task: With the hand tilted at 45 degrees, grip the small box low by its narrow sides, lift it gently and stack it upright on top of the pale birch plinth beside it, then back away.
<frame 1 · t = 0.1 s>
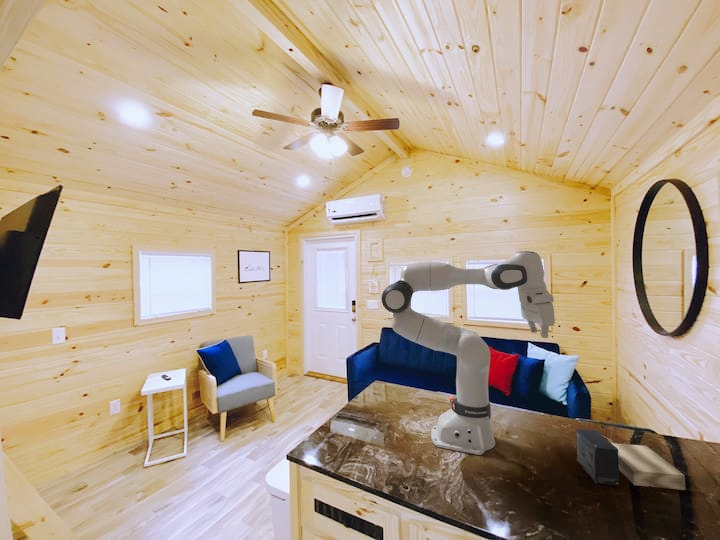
hand: (539, 334, 103), 39 cm above the kitchen island, tool pointing down, fingers open, 8 cm apart
plinth: (641, 470, 88), on the kitchen island
small box: (597, 473, 88), on the kitchen island
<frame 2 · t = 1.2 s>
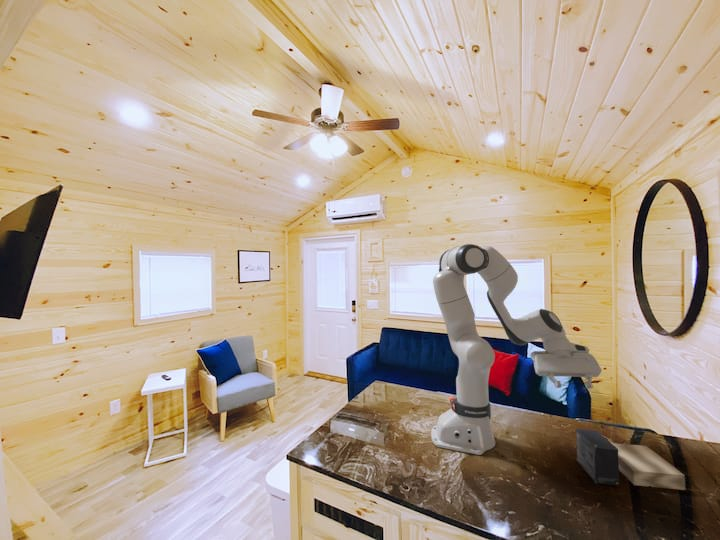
hand: (574, 387, 100), 21 cm above the kitchen island, tool tilted 45°, fingers open, 8 cm apart
nothing on the kitchen island moved.
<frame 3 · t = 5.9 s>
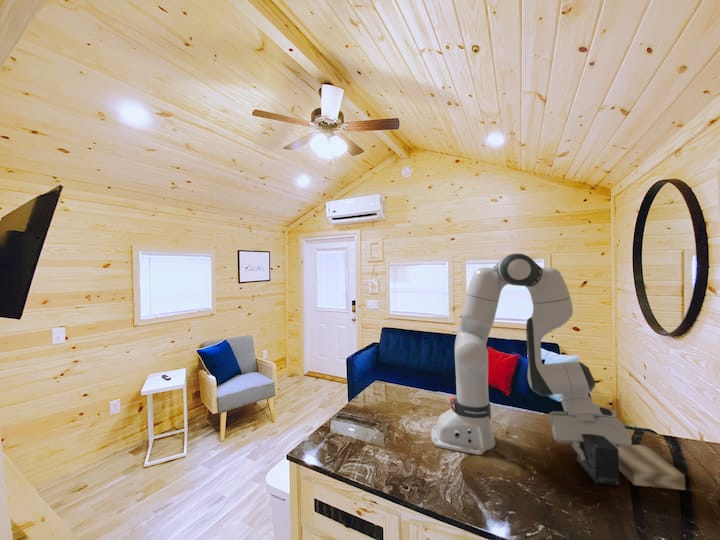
hand: (600, 461, 86), 4 cm above the kitchen island, tool tilted 45°, fingers closed on small box, 6 cm apart
small box: (597, 473, 88), on the kitchen island, touching gripper
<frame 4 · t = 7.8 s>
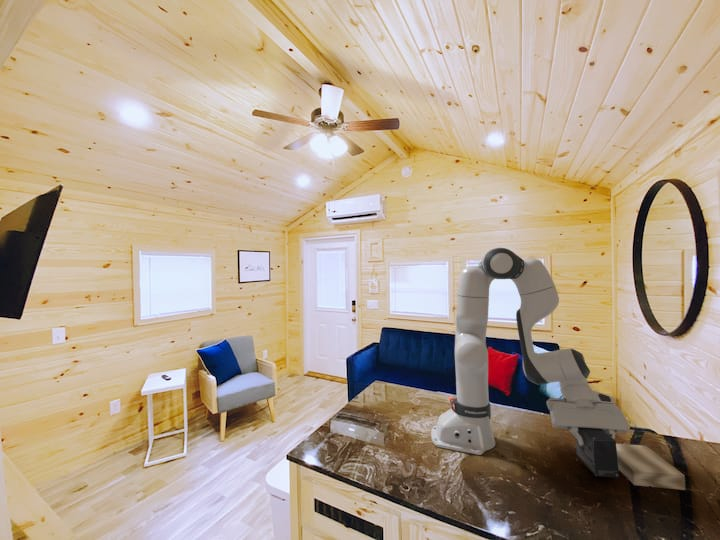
hand: (598, 446, 87), 9 cm above the kitchen island, tool tilted 45°, fingers closed on small box, 6 cm apart
small box: (597, 466, 88), point 2 cm above the kitchen island, touching gripper
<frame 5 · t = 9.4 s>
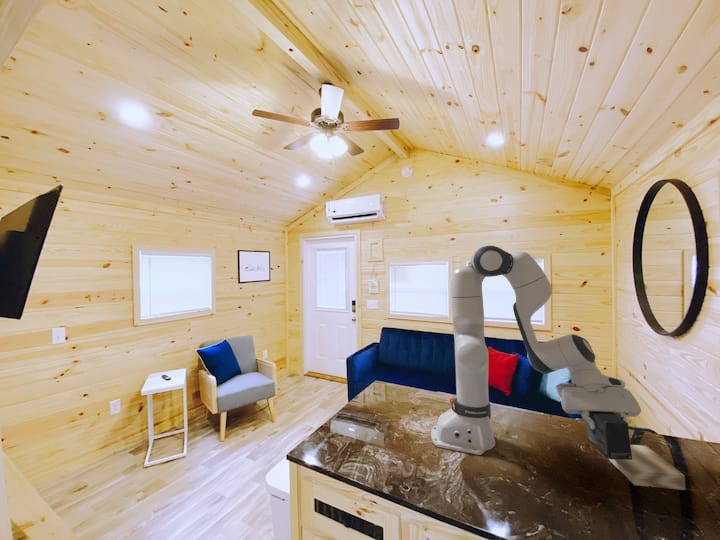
hand: (609, 429, 87), 14 cm above the kitchen island, tool tilted 45°, fingers closed on small box, 6 cm apart
small box: (609, 450, 88), point 7 cm above the kitchen island, touching gripper
when the fingers open (10 cm above the kitchen island, at t = 12.2 s): small box stays where it is, resting on plinth.
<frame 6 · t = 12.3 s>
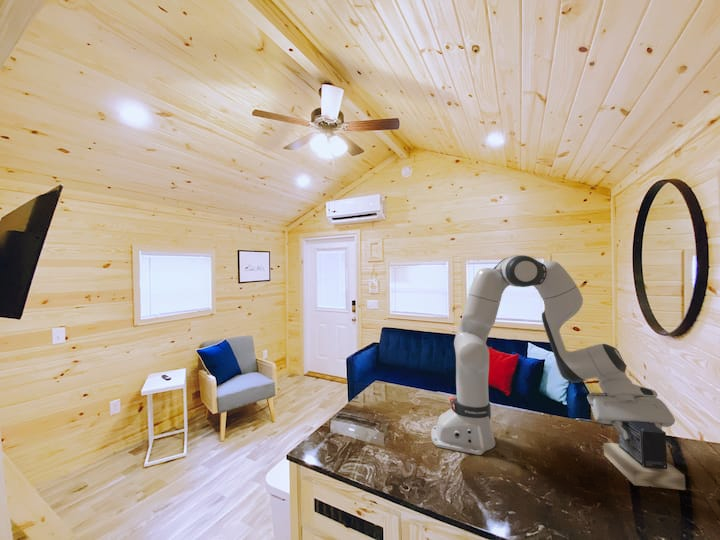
hand: (644, 440, 87), 10 cm above the kitchen island, tool tilted 45°, fingers open, 7 cm apart
small box: (642, 458, 88), point 4 cm above the kitchen island, touching gripper, plinth
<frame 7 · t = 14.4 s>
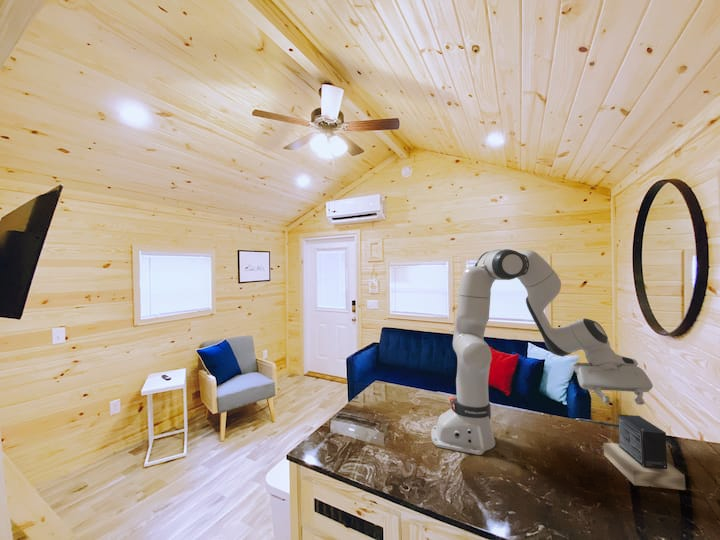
hand: (623, 403, 95), 18 cm above the kitchen island, tool tilted 45°, fingers open, 8 cm apart
small box: (642, 458, 88), point 4 cm above the kitchen island, touching plinth
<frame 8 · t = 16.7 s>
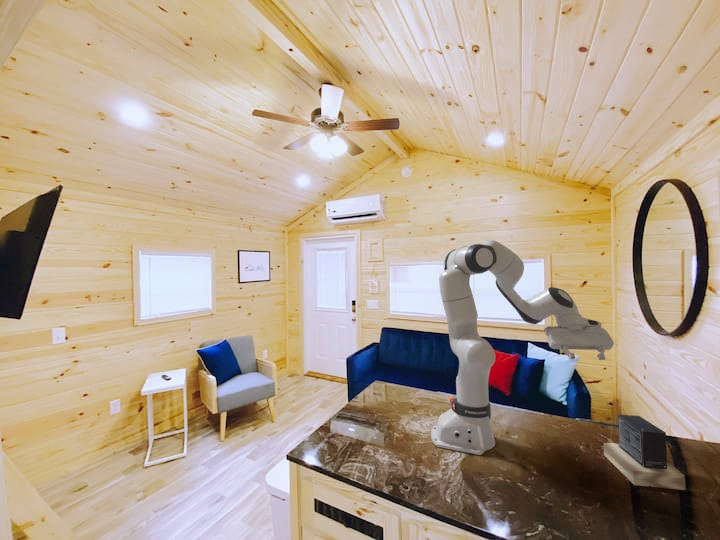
hand: (587, 359, 104), 29 cm above the kitchen island, tool tilted 45°, fingers open, 8 cm apart
nothing on the kitchen island moved.
at the end: small box inside the target area on the plinth (0.6 cm from its centre), point 3.8 cm above the plinth's base; small box tilted 0°; the gripper is holding nothing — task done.
